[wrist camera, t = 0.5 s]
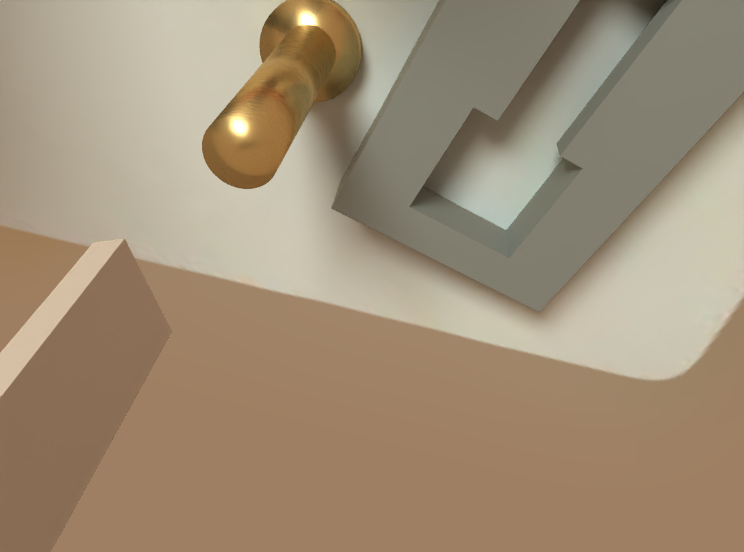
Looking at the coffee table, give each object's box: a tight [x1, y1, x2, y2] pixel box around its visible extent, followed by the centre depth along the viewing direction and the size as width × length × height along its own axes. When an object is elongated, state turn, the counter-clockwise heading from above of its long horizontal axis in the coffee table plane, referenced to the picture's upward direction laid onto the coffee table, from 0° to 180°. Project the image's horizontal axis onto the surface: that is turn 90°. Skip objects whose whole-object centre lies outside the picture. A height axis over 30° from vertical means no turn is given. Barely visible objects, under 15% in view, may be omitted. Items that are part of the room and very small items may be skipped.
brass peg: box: [202, 0, 362, 189], centre depth 29 cm, size 6×6×14 cm
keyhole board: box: [332, 0, 744, 312], centre depth 33 cm, size 15×24×3 cm, turn 153°
